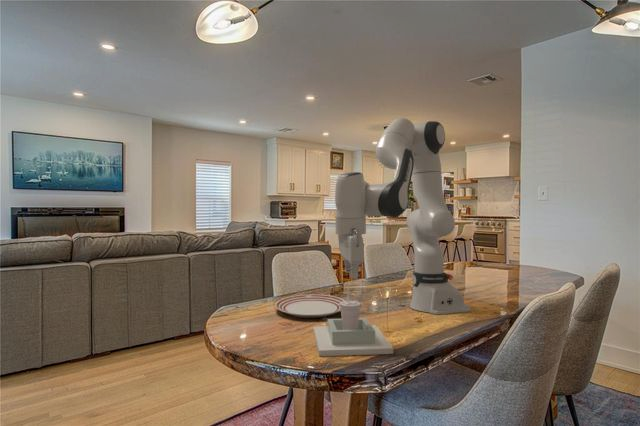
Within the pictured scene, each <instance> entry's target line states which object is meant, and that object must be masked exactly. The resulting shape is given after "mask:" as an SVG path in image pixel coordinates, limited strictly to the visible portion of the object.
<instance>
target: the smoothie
mask: <svg viewBox="0 0 640 426" xmlns="http://www.w3.org/2000/svg"><path fill="white" fill-rule="evenodd" d="M346 292H347V297H346V298H347V300H345V301H342V302H340V303H339V307H340V308H341V311H340V313H341V319H342V325H343V330H355V329H357V328H358V320H359V318H360V310H361V308H362V303H361V302H359V301H356V300H350V288H348V287H347V291H346Z"/></svg>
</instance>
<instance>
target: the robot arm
mask: <svg viewBox="0 0 640 426" xmlns="http://www.w3.org/2000/svg"><path fill="white" fill-rule="evenodd" d="M445 141H446V132H445V129H444V126H443V125H442V123H440V122H439V121H434V120H432V121H431V120H430V121H429V120H428V121H427V122H419V123H418V122H416V123H413V122H412V121H411V120H410V119H408V118H405V117H404V118H403V117H398V118H395V119H394V120H392V121H391V122H390V123H389V124H388V125H387V127H386V128H385V129H384V131H383V133H382V134H381V136H380V137H379V139H378V141H377V143H376V146H375V156H376V158H377V160H378V162H379V163H380V164H381V165H383V166H384V167H385V168H388V169H390V170H391V169H392V170H394V171H395V172H394V176H393V180H391V181H389V182H386V183H378V184H377V183H376V184H374V183H373V184H372V183H371V184H370V183H368V182H367V181H366V180H365V178H364V174H363V173H362V172H357V171H356V172H355V171H354V172H345V173H342V174H340V175H338V176H337V179H336V184H335V189H334V190H335V193H334V194H335V195H334V202H335V203H334V204H335V207H336V208H335V209H336V213H335V219H334V220H335V234H336V235H338V236H337V239H338V248H339V254H340V256H341V257H342V258H343V262H344V269H345V270H344V271H345V273H346V274H350V277H351V279H353V280H357V279H358V277H359V269H360V265H363V264H364V262H365V251H364V250H365V249H364V248H365V246H364V238H363V235H365V234H367V216H369V217H388V218H399V217H400V216H401V215H402V214H404V212H405V211H406V210H407V208H408V205H409V190H410V186H411V184H412V194H413V197H414V198H415V199H416V202H417V205H418V207H419V208H417V209H414V210H413V211H411V212H410V213H408V215H407V218H406V226H407V229H408V230H409V232H410V237H411V241H412V247H413V255H414V256H413V260H414V261H413V264H414V266H413V267H414V268H413V269H414V270H413V272H412V285H413V289H412V296H411V301H410V304H409V308H411V309H413V310H415V311H418V312H419V311H420V312H425V313H430V314H434V315H446V314H455V313H467V312H471V307H470V306H469V305H468V304H466V303H465V301H464V300H465V299H464V295H463V293H462V292H461V291H460V290H458V288H456V287H455V286H454V285H452V284H451V283H450V282H449V281H452V280H453V279H454V275H453V274H450V273H446V272H444V268H445V267H444V265H445V264H444V263H445V262H444V261H445V259H444V258H445V257H444V250H443V249H442V247H441V245H440V241H439V238H443V237H447V236H448V235H450V234H451V233H453V231H454V229H455V224H456V221H455V217H454V216H453V215H452V213H451V212H450V211H449V208H448V205H447V202H446V199H445V197H444V196H445V195H444V190H443V178H442V177H443V176H442V164H441V158H440V157H441V156H440V154H439V152H440V150H441V149H442V147H443V146H444V144H445ZM411 182H412V183H411Z"/></svg>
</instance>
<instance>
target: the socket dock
mask: <svg viewBox="0 0 640 426" xmlns="http://www.w3.org/2000/svg"><path fill="white" fill-rule="evenodd" d="M312 331H313V335H314V340H315V344H316V348H317V354H318V356H319V357H334V356H335V357H336V356H338V357H340V356H361V355H362V356H363V355H364V356H365V355H367V356H368V355H390V354H391V355H393V354H394V347H393V346H392V344H391V342H390V341H389V340H388V339H387V338H386V337H385V335H384V334H383V333H382V331H381V330H380V329H379V328H378V326H377V325H376V324H371V323H370V321H369V320H368V319H367V318H366V317H359V320H358V328H357V329H355V330H343V325H342V318H327V325H326V326H325V325H324V326H323V325H321V326H320V325H319V326H313V330H312Z"/></svg>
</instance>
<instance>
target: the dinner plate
mask: <svg viewBox="0 0 640 426" xmlns="http://www.w3.org/2000/svg"><path fill="white" fill-rule="evenodd" d="M342 301H346V300H345V299H343V298H341V297H338V296H335V295H334V296H333V295H328V294H310V293H309V294H297V295H292V296H291V295H290V296H287V297H284V298H281V299H279V300H278V301H276V302H275V304H274V307H275V308H276V309H277V310H278V311H280V312H282V313H285V314H288V315H291V316H294V317H298V318H307V319H308V318H310V319H311V318H324V317H328V316H331V315H335V314H337V313H341V308H340V307H339V303H340V302H342Z"/></svg>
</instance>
